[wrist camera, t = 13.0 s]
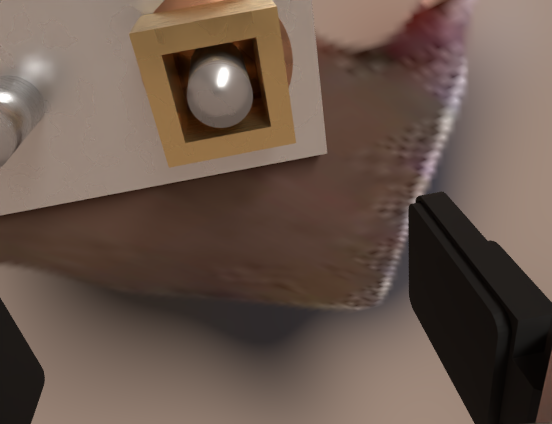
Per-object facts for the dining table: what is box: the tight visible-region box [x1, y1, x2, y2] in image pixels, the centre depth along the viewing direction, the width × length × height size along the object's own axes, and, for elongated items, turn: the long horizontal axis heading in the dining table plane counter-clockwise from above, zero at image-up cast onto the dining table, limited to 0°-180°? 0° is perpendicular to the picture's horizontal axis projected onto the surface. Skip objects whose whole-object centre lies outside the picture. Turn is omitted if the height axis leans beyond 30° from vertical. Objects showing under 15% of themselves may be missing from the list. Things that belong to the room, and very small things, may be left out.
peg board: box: [0, 0, 327, 215], centre depth 27 cm, size 14×24×8 cm, turn 99°
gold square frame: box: [129, 0, 296, 168], centre depth 27 cm, size 7×7×5 cm
